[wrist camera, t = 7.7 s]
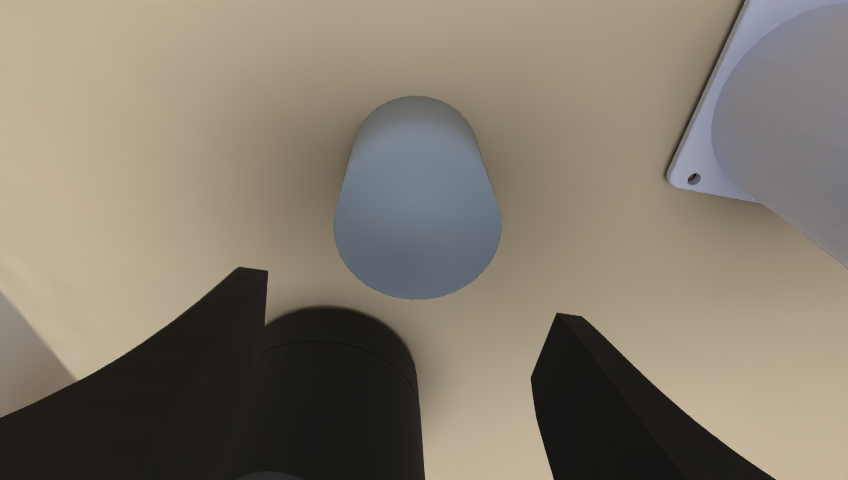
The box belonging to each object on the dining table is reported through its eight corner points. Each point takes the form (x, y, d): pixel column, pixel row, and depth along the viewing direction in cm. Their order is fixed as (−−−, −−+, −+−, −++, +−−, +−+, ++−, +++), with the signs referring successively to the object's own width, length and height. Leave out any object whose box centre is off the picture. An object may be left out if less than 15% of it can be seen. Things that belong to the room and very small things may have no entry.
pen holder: (290, 263, 23) (220, 456, 15) (461, 353, 26) (487, 559, 18) (204, 393, 27) (107, 608, 18) (362, 459, 30) (343, 673, 21)
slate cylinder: (492, 109, 20) (521, 169, 15) (461, 223, 23) (477, 309, 17) (361, 83, 20) (345, 137, 14) (344, 204, 22) (324, 286, 17)
